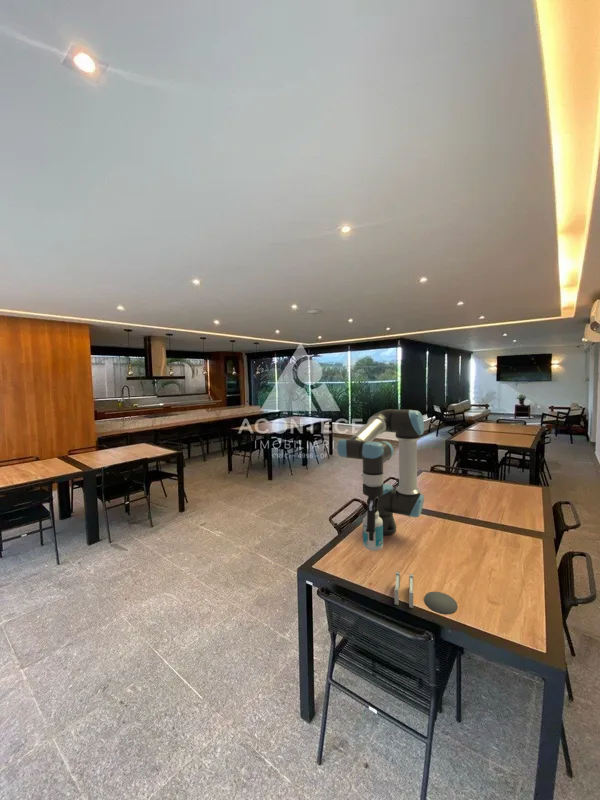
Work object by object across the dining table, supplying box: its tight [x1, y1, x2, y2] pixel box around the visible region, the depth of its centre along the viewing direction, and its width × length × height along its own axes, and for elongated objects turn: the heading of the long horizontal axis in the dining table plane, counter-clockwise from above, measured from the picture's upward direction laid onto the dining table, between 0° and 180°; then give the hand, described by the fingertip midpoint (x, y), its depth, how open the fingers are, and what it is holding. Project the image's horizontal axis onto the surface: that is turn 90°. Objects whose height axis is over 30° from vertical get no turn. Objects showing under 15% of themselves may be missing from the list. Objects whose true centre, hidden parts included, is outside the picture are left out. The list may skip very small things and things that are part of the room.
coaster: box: [423, 591, 458, 615], centre depth 118 cm, size 11×11×1 cm
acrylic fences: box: [394, 570, 414, 609], centre depth 122 cm, size 11×6×6 cm, turn 161°
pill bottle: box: [362, 511, 384, 552], centre depth 124 cm, size 8×7×14 cm
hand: (373, 542), depth 124 cm, fingers closed on pill bottle, 7 cm apart
